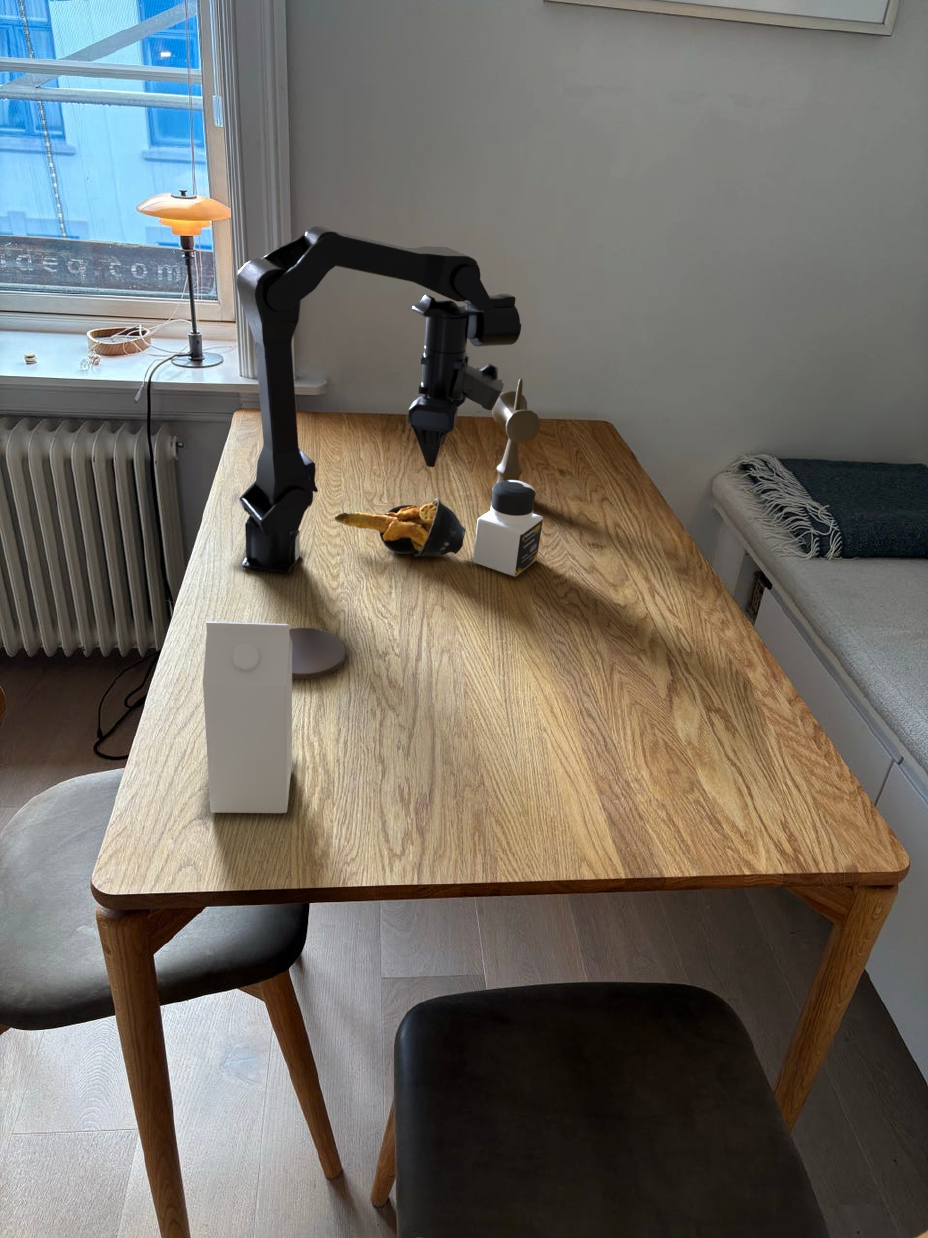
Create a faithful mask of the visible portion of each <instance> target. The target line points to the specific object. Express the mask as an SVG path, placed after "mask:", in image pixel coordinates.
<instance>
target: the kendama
mask: <svg viewBox="0 0 928 1238" xmlns="http://www.w3.org/2000/svg"><path fill="white" fill-rule="evenodd" d="M523 383H524V382H523V379H522V378H519V380H518V383H517V388H516V391H515V390H507V391H506V390H505V391H502V392H501V394H500V396H499V398H498V400H497V402H496V404H495V405H494V407H493V409H492V410H491V413H492V417H493V419H494V422H496V423H497V424H498V425H500V426H504V427H505V433H506V436H507V437H508V439H507V444H506V447H505V451H504V454H503V457H502V459H501V462H500V463H498V465H497V466H496V471H497V473H498V474H497V475H498V476H497V479H496V482H495V484H494V485H496V484H497V483H498V482H501V481H506V480H516V481H520V476H521V475H522V474H523V472H524V471H523V468H522V467H521V465H520V456H519V455H520V454H519V444H526V443H529V442H532V441H533V440H535V438H536V437H537V436H538V435H539V431H540V428H541V424H540V423H541V420H540V417H539V416H538V414H537V413H536V412H534V411H533V410H529V409H528V401H527V399H526V396H525V395H524V394H523V385H524V384H523ZM494 485H493V487H494ZM493 487H492V488H491V491H492V493H493Z"/></svg>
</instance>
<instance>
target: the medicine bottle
mask: <svg viewBox="0 0 928 1238" xmlns="http://www.w3.org/2000/svg"><path fill="white" fill-rule="evenodd" d="M496 483H497V482H496ZM496 483H495V484H496ZM495 484H494V485H493V486H494V487H492V488H493V492H492V494H491V502H490V510H489V511H487V512H486V513H484V514H483V515H481V516H479V517H478V518H477V520H476V521H477V522H476V530H475V532H476V533H475V541H474V549H473V557H472V561H473V563H474V564H477V565H481V566H483V567H485V568H488V569H492V570H494V571H497V572H500V573H503V574H505V575H508V576H511V577H515V578H516V577H517V576H519V574H521V573H522V572H523V571H525V570H526V569H527V568H528V567H529V566H531V565H532V564H533V563H534V562H536V561H537V560H538V556H539V555H538V554H539V548H540V543H541V542H540V541H541V537H542V536H541V535H542V528H543V522H544V517H543V516H542V515H539V514H536V513H534V508H535V502H536V494H537V492H536V490H535V488H534V487H533V486H532V485H530V484H528V483H526V482H524V481H521V480H519V481H516V480H506V481H501V482H498V483H497V484H496V485H495Z"/></svg>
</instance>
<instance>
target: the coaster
mask: <svg viewBox="0 0 928 1238" xmlns="http://www.w3.org/2000/svg"><path fill="white" fill-rule="evenodd" d="M289 635H290V637H291V640H292V680H293V679H294V680H310V679H318V678H322V677H326V676H327V675H330V674H332V673H334V672H336V671H337V670H338V669H339V668H340V667H342V665H343V663H344V662H345V661H346V660H345V659H346V646H345V644H344V642H343V641H342V640H341V639H340V638H339V637H337V635H335V634H333V633H331V632H329V631H326V630H323V629H319V628H312V627H294V628H293V627H292V628H289Z"/></svg>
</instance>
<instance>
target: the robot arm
mask: <svg viewBox="0 0 928 1238" xmlns="http://www.w3.org/2000/svg"><path fill="white" fill-rule="evenodd" d="M335 267H338V268H344V269H348V270H352V271H358V272H361V273H367V274H373V275H377V276H382V277H386V278H392V279H396V280H402V281H406V282H410V283H414V284H416V285H419V286H421V287H423V288H425V289H427V290H430V291H432V292H434V293H435V294H438V295H441V296H443V297H446V298H447V300H436V299H435V297H433V296H431V295H429V294H425V295H424V296H423V297H422V299H421V300H419V301H417V302H416V303H415V304H414V305H413V306H412V308H411V309H412V311H413V312H415V313H417V314H418V315H420V316H422V317H424V318H426V321H425V322H426V324H425V336H424V345H423V347H424V348H423V353H422V355H421V357H420V358H421V359H420V365H422V372H421V373H422V374H421V382H420V384H419V386H418V394H419V395H423V396H419V397H418V398H416V399H415V400H414V401H412V403H411V405H410V407H409V408H408V415H407V424H408V425H409V427H410V428H411V429H412V431H413V434H414V436H415V439H416V441H417V443H418V446H419V449H420V451H421V454H422V457H423V460H424V463H425V465H426V467H429V468H435V466H436V464H437V460H438V457H439V453H440V449H441V446H443V445H444V444H445V442H446V439H447V435H448V434H450V433H452V432H454V429H455V427H456V424H457V419H458V412H459V407H460V406H462V405H463V404H464V403H465V402H466V399H468V400H470V401H472V402H474V403H475V404H478V405H480V406H481V408H482V409H484V410H487V411H489V412H492V409H493V407H494V405H495V404H496V402H497V400H498V398H499V396H500V394H501V393H503V389H504V387H505V386H504V385H505V384H504V382H503V380H502V379H499V368H498V367H497V366H495V365H494V364H492V363H488V364H486V365H485V366H484V367H482V368H481V369H480V367H478V366H477V367H473V366H471V365H469V362H470V361H469V359H470V356H469V355H468V352H467V345H468V344H467V343H468V340H469V342H470V344H471V345H472V346H474V347H494V346H495V347H496V346H497V347H498V346H512V345H514V344H516V343H517V342H518V340H519V337H520V336H521V331H522V323H521V318H520V314H519V310H518V308H517V307H516V299H517V298H516V297H515V296H513V295H511V294H510V293H499V294H494V295H489V294H488V292H487V290H486V288H485V286H484V283H483V282H482V280H481V268H480V266H479V264H478V261H477V260H476V259H475V258H473V257H471V256H469V255H466V254H464V253H462V252H459V251H456V250H454V249H453V248H451V247H448V246H419V247H404V246H400V245H396V244H390V243H387V242H384V241H383V242H382V241H379V240H373V239H369V238H365V237H360V236H356V235H352V234H348V233H344V232H339V231H336V230H335V231H334V230H331V229H330V228H327V227H326V226H323V225H315V226H312V227H311V228H309V229H308V230H306V231H305V232H304V233H302V234H301V235H299V237H297V238H295V239H292V240H290V241H288V242H285V243H284V244H281V245H280V246H277V247H276V248H274V249H272V250H271V251H269V252H268V253H267V254H265V255H264V256H263V257H257V258H253V259H250V260H249V261H247V262H246V263H244V265H243V266H242V267H241V268H240V269H239V270H238V271H237V272H238V273H237V274H236V275H237V276H236V288H237V293H238V296H239V299H240V304H241V307H242V310H243V313H244V316H245V318H246V321H247V323H248V325H249V328H250V331H251V333H252V336H253V340H254V349H255V350H254V351H255V362H256V370H257V371H256V373H257V385H258V393H259V406H260V417H261V430H262V441H263V442H262V443H263V444H262V448H261V450H260V454H259V456H258V458H257V463H256V475H255V481H253V483H252V484H251V485H250V486H249V487H248V488H247V489H246V490H245V491H244V492H243V493H242V495H241V496H240V497H239V502H240V504H241V506H242V509H243V510H244V512H246V513H247V514H248V517H247V518H246V520H245V521H244V530H245V531H244V533H245V536H244V537H245V558H244V560H243V562H242V563H241V567H242V568H244V569H249V570H250V569H251V570H258V571H265V572H273V573H281V574H288V573H290V571H291V569H292V568H293V566H294V565H295V564H296V563H297V562H298V559H299V558H300V555H301V552H300V551H301V530H299V529H300V527H301V523H302V521H303V518H304V515H305V512H306V511H307V510H308V509H309V507H311V506H312V504H313V502H314V493H318V492H319V490H318V488H317V486H316V485H317V484H316V470H317V469H316V463H315V462H314V461H313V460H312V459H311V458H310V457H309V456H308V455H307V454H306V453H305V452H304V451H302V450H301V449H300V447H299V434H298V432H299V431H298V420H297V419H298V417H297V405H296V390H295V375H294V374H295V373H294V362H293V361H294V360H293V344H292V343H293V338H294V335H295V333H296V329H297V327H298V324H299V321H300V314H301V313H300V312H301V301H302V300H303V299H305V297H307V296H308V295H310V294H312V292H314V291H315V289H317V287H318V286H319V285H320V283H321V282H322V280H323V279H324V278H325V277H326V276H327V275H328V273H329V272H330V271H332V269H334V268H335ZM448 299H449V300H448ZM456 302H457V303H458V302H460V303H461V302H463V303H464V304H466V305H460V306H459V305H458V304H457V303H456Z"/></svg>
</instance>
